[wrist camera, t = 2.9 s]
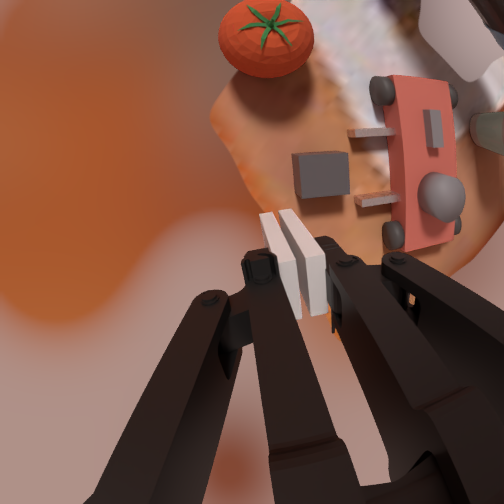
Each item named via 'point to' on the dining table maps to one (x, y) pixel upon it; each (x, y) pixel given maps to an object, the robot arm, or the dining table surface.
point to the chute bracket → (375, 197)
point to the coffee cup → (488, 131)
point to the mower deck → (420, 160)
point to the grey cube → (321, 174)
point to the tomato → (266, 37)
